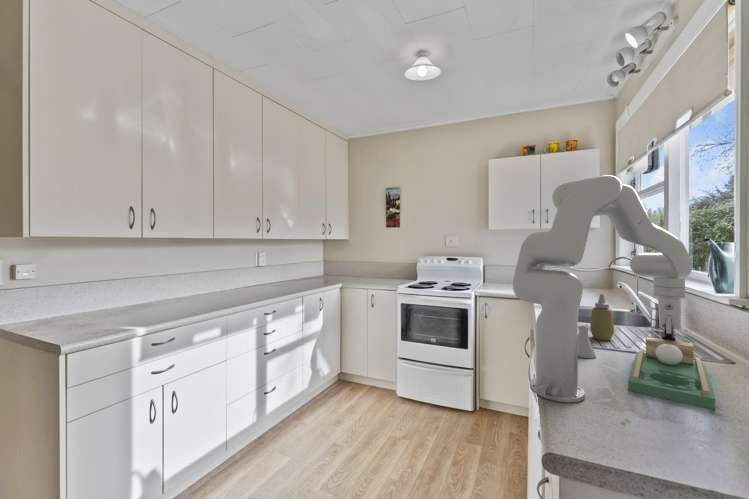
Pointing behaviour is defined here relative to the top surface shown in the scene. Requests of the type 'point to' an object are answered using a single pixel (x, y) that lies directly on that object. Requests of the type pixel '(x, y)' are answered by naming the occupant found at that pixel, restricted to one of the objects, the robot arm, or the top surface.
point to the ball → (669, 354)
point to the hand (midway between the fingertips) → (668, 349)
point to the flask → (584, 343)
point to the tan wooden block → (684, 347)
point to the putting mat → (672, 380)
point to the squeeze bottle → (602, 320)
